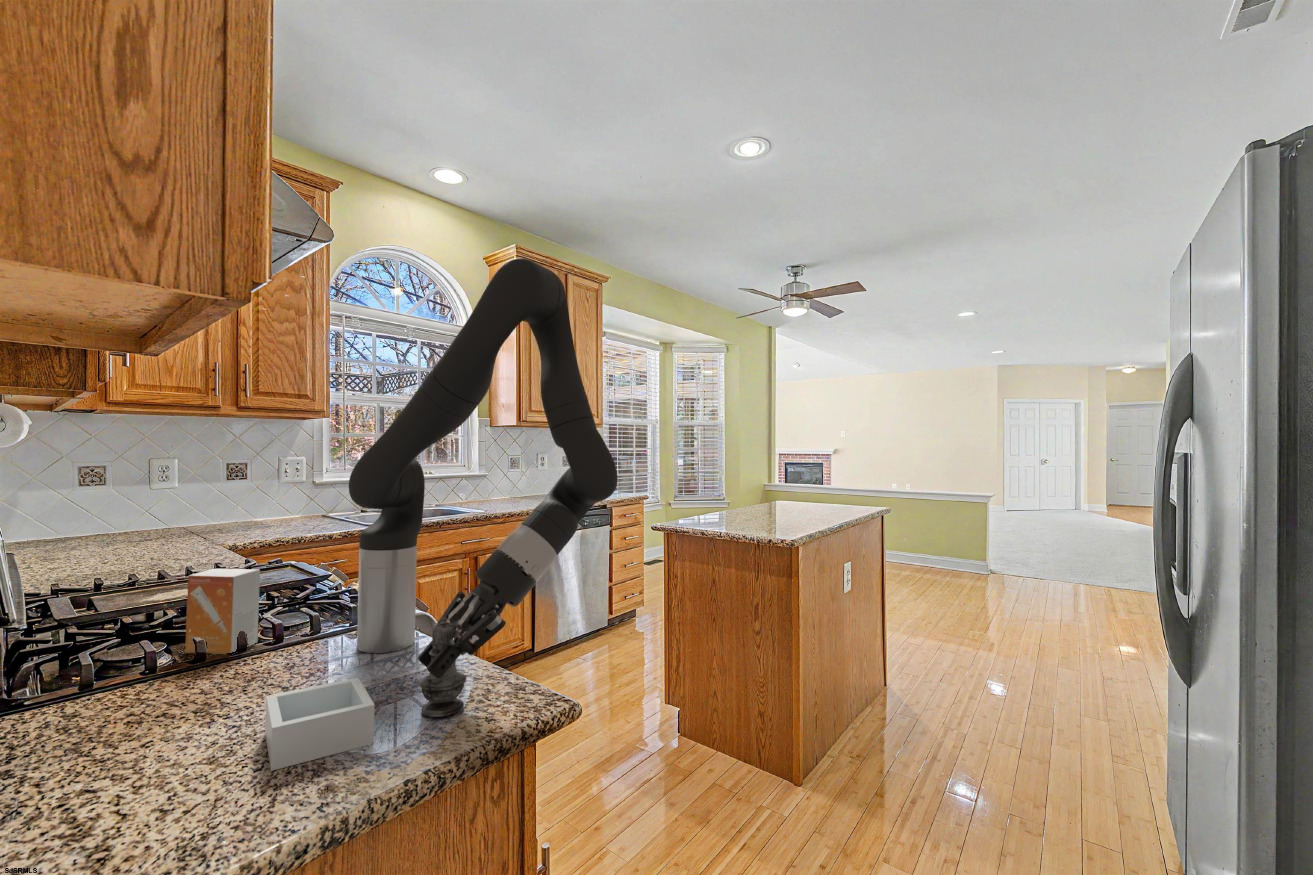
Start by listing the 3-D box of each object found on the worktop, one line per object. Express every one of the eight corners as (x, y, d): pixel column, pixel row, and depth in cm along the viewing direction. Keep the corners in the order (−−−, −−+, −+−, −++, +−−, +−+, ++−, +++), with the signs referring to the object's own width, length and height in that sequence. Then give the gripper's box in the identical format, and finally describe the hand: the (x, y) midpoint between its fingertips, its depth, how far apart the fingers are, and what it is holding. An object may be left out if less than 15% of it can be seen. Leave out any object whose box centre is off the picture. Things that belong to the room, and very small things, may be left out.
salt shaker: (450, 720, 73) (452, 623, 74) (408, 715, 75) (410, 620, 75) (474, 700, 79) (476, 611, 79) (435, 696, 80) (436, 608, 81)
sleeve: (265, 733, 70) (266, 695, 70) (357, 712, 76) (358, 677, 76) (270, 770, 62) (272, 728, 62) (373, 743, 68) (374, 704, 68)
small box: (183, 654, 97) (186, 575, 97) (214, 641, 103) (216, 567, 103) (231, 655, 96) (233, 576, 97) (259, 642, 103) (261, 568, 103)
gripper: (481, 540, 87) (392, 637, 80) (520, 555, 76) (421, 669, 68) (514, 572, 90) (432, 668, 83) (557, 590, 79) (465, 704, 72)
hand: (428, 668), depth 76 cm, fingers closed on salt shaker, 3 cm apart
